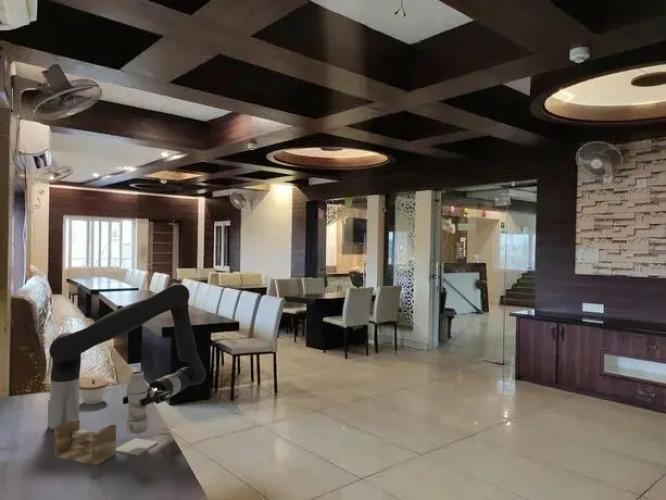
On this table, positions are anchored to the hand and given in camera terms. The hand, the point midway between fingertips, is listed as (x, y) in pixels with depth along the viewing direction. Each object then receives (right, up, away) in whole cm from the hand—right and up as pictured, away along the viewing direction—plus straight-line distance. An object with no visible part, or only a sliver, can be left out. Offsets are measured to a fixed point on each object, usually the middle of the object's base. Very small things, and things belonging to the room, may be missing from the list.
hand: (132, 402), depth 157 cm
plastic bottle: (+1, -11, +2) cm, 11 cm away
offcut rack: (-13, -15, -5) cm, 20 cm away
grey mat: (0, -15, +2) cm, 16 cm away
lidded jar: (-36, -15, +47) cm, 60 cm away
